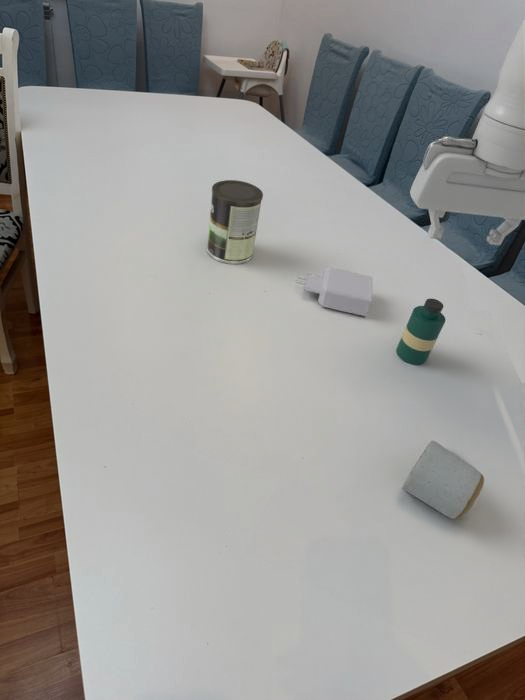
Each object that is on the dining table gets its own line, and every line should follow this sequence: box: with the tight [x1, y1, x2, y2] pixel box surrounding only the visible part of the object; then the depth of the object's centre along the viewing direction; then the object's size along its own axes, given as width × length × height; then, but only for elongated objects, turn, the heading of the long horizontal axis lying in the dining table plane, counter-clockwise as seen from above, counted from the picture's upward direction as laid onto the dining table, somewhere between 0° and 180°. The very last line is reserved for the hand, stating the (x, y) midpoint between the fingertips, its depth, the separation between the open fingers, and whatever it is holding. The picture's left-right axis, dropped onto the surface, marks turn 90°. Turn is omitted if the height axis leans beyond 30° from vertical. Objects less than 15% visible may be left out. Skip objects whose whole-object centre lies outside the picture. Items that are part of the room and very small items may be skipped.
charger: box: [295, 267, 373, 317], centre depth 99 cm, size 5×9×15 cm
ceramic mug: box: [401, 440, 485, 520], centre depth 66 cm, size 11×8×8 cm
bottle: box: [395, 297, 446, 366], centre depth 87 cm, size 6×6×12 cm
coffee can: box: [206, 179, 264, 265], centre depth 104 cm, size 10×10×14 cm
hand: (463, 240), depth 73 cm, fingers open, 8 cm apart
